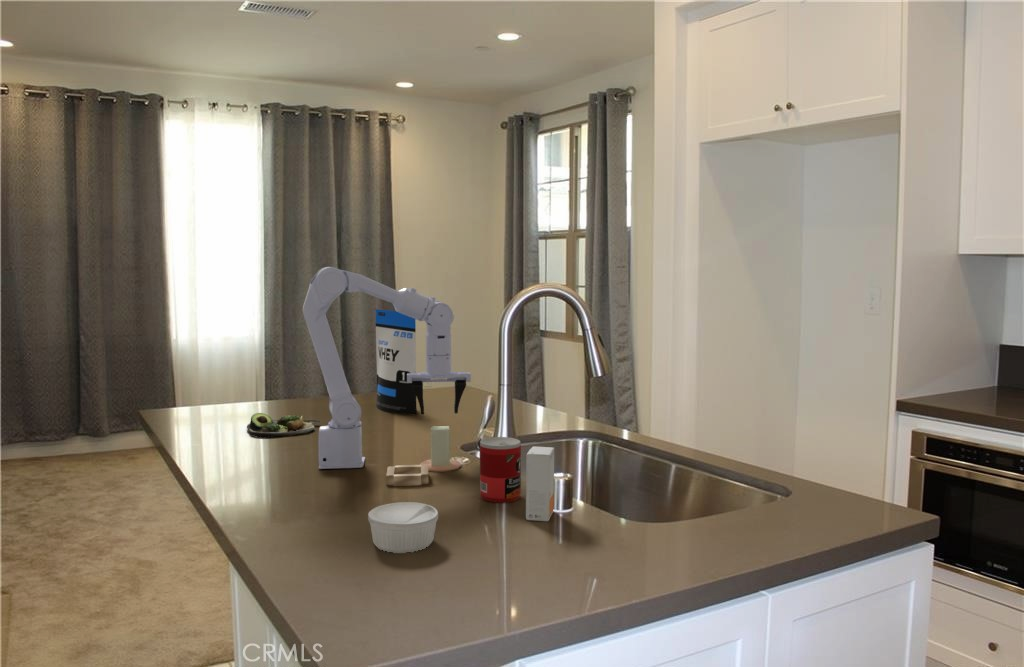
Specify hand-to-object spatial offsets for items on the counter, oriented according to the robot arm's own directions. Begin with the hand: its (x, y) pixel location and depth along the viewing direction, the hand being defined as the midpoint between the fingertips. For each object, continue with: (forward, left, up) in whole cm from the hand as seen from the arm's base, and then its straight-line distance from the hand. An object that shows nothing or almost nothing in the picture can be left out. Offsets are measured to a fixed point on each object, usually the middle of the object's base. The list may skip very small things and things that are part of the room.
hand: (439, 413), depth 182 cm
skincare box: (+17, -44, -11) cm, 48 cm away
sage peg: (0, -8, -10) cm, 13 cm away
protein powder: (-12, +61, -11) cm, 63 cm away
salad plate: (-42, +34, -11) cm, 56 cm away
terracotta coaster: (0, -8, -10) cm, 13 cm away
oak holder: (-7, -18, -10) cm, 22 cm away
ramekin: (-7, -55, -11) cm, 56 cm away
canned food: (+11, -32, -11) cm, 35 cm away
